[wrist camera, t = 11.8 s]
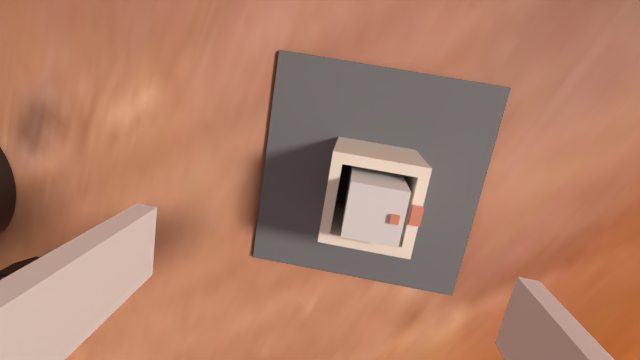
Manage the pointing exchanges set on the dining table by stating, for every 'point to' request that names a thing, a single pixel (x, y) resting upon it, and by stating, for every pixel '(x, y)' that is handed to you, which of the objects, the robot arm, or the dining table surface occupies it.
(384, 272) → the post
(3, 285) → the robot arm
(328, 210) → the cream square sleeve
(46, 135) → the dining table surface
